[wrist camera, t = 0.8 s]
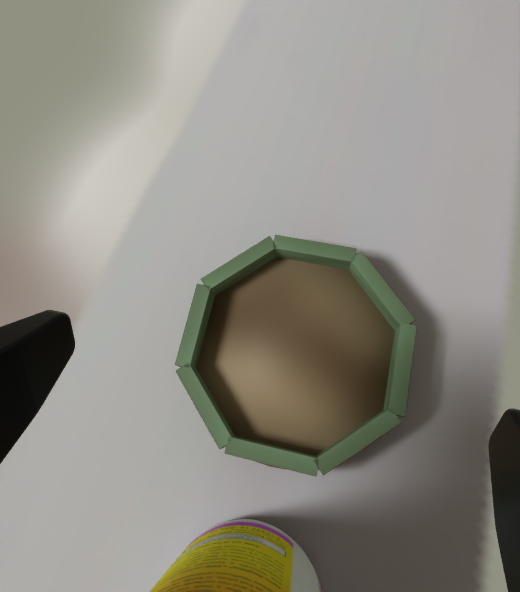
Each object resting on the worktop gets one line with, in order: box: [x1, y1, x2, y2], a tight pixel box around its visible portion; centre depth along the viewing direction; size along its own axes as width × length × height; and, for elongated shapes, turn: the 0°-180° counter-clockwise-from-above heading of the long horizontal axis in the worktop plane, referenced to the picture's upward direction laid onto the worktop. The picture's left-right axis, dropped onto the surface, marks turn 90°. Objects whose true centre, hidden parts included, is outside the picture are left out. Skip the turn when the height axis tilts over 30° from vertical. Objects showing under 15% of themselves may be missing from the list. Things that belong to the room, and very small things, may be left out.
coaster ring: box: [175, 235, 417, 476], centre depth 20 cm, size 11×11×2 cm
